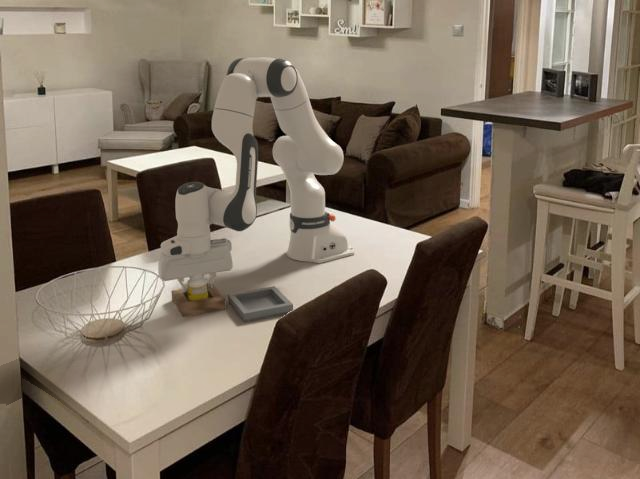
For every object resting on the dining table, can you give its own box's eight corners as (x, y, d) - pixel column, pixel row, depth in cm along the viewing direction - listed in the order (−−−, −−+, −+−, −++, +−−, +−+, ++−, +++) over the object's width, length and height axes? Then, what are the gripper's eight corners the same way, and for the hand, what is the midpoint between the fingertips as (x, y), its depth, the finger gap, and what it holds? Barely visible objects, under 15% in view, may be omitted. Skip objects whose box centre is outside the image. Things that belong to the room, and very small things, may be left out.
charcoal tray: (274, 294, 211) (274, 286, 210) (293, 312, 199) (293, 304, 198) (228, 302, 205) (227, 294, 204) (244, 322, 193) (244, 313, 192)
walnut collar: (213, 293, 211) (212, 283, 210) (225, 309, 201) (225, 299, 200) (172, 300, 207) (171, 290, 206) (182, 317, 196) (182, 306, 195)
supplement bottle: (189, 301, 206) (187, 268, 203) (208, 300, 207) (207, 268, 203) (187, 309, 201) (185, 276, 198) (207, 308, 202) (205, 275, 198)
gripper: (227, 233, 205) (229, 279, 209) (154, 244, 197) (158, 291, 201) (234, 240, 199) (236, 287, 204) (160, 251, 191) (164, 300, 196)
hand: (197, 289), depth 202 cm, fingers closed on supplement bottle, 5 cm apart
